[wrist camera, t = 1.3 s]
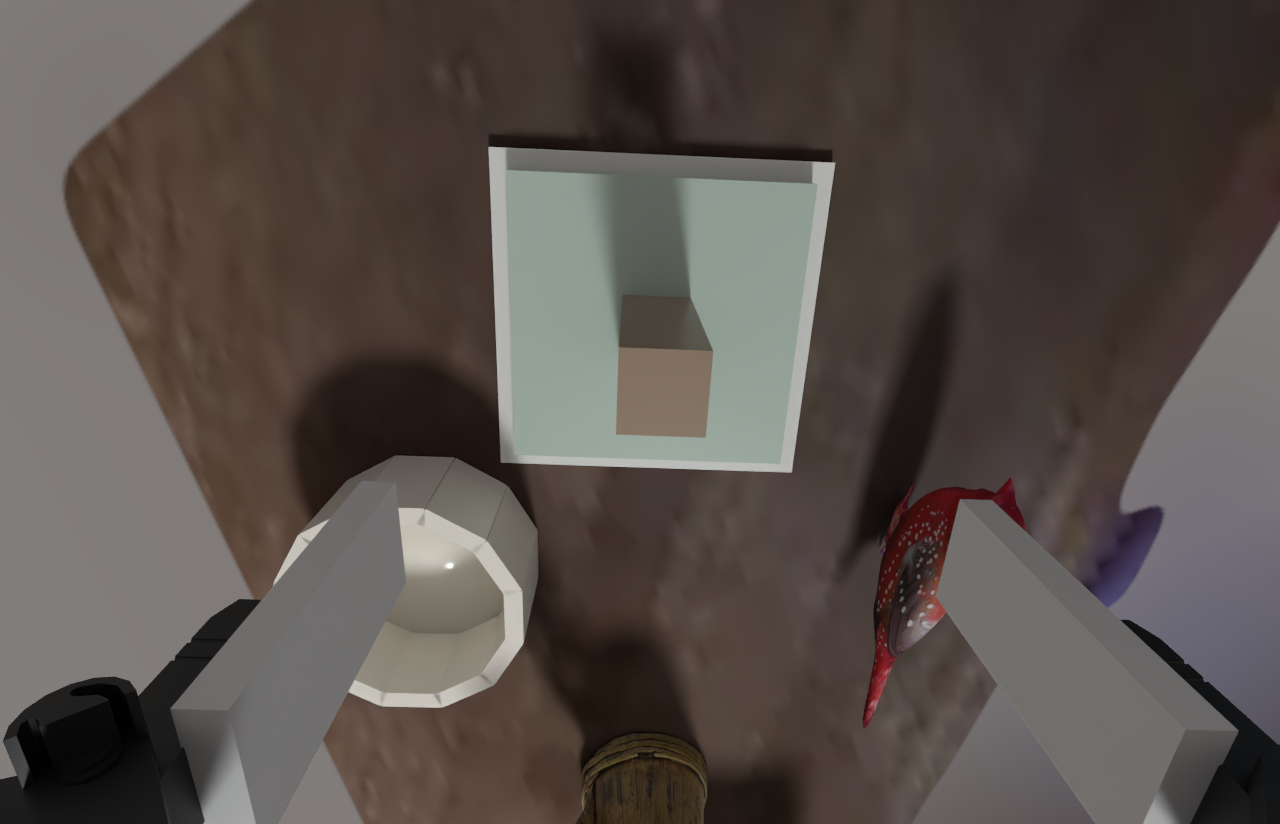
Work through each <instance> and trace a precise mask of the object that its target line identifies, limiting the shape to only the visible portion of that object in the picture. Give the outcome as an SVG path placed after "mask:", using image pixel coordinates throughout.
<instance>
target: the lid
mask: <svg viewBox="0 0 1280 824" xmlns="http://www.w3.org/2000/svg"><path fill="white" fill-rule="evenodd" d="M506 181H507V214H508V247H509V281H510V314H511V348H512V381H513V414H514V448H515V455H532V456H561V457H591V458H620V459H650V460H679V461H709V462H738V463H768V464H780V462H781V455H782V447H783V440H784V432H785V425H786V417H787V410H788V402H789V395H790V387H791V380H792V372H793V365H794V357H795V350H796V342H797V335H798V327H799V320H800V312H801V305H802V297H803V290H804V282H805V275H806V267H807V260H808V252H809V245H810V237H811V230H812V223H813V215H814V208H815V200H816V193H817V185H818V184H814V183H795V182H772V181H750V180H728V179H706V178H684V177H661V176H639V175H617V174H595V173H573V172H550V171H528V170H506Z"/></svg>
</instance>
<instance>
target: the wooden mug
mask: <svg viewBox="0 0 1280 824" xmlns="http://www.w3.org/2000/svg"><path fill="white" fill-rule="evenodd" d="M707 785H708V775H707V766H706V764H705V762H704V760H703V758H702V756H701V754H700V753H699V752H698V751H697V750H696V749H695V748H694V747H693V746H692V745H691V744H689V743H687V742H685V741H683V740H681V739H680V738H676V737H673V736H669V735H666V734H655V733H632V734H629V735H625V736H622V737H619V738H615V739H614V740H612V741H610V742H609V743H607V744H606V745H604V746H603V747H601V748H600V749H599V750H598V751H597V752H596V754H595V755H594V756H593V757H592V758H591V759H590V761H589V762H588V763H587V764H586V765H585V767H584V769H583V771H582V806H583V812H582V814H581V816H580V817H579V819H578V821H577V822H576V824H703V820H704V807H705V803H706V799H707Z"/></svg>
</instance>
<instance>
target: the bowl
mask: <svg viewBox="0 0 1280 824" xmlns="http://www.w3.org/2000/svg"><path fill="white" fill-rule="evenodd" d="M361 481H383V482H396V490H397V500H398V510H399V519H400V529H401V538H402V548H403V558H404V567H405V577H406V584H405V586H404V588H403V590H402V591H401V593H400V595H399V597H398V599H397V601H396V603H395V605H394V606H393V608H392V610H391V612H390V614H389V616H388V618H387V620H386V622H385V623H384V625H383V627H382V629H381V631H380V633H379V635H378V637H377V638H376V640H375V642H374V644H373V646H372V648H371V650H370V652H369V654H368V655H367V657H366V659H365V661H364V663H363V665H362V667H361V669H360V670H359V672H358V674H357V676H356V678H355V680H354V682H353V684H352V686H351V687H350V689H349V691H348V692H350V693H352V694H354V695H356V696H359V697H361V698H363V699H366V700H368V701H370V702H372V703H375V704H377V705H379V706H380V705H382V706H393V707H434V708H442V707H445V706H447V705H450V704H452V703H454V702H457V701H459V700H461V699H463V698H466V697H468V696H470V695H473V694H475V693H477V692H480V691H482V690H484V689H487V688H489V687H491V686H493V685H495V683H496V682H497V680H498V679H499V677H500V676H501V675H502V673H503V672H504V670H505V669H506V668H507V666H508V665H509V663H510V662H511V661H512V659H513V658H514V656H515V655H516V653H517V652H518V651H519V649H520V648H521V646H522V645H523V643H524V639H525V635H526V630H527V626H528V621H529V617H530V613H531V608H532V604H533V599H534V595H535V590H536V586H537V581H538V531H537V528H536V527H535V525H534V524H533V522H532V521H531V519H530V518H529V516H528V515H527V513H526V512H525V510H524V509H523V507H522V506H521V504H520V503H519V502H518V500H517V499H516V497H515V496H514V494H513V493H512V491H511V490H510V488H509V487H508V486H507V485H506V484H504V483H502V482H500V481H498V480H497V479H495V478H493V477H491V476H489V475H487V474H485V473H483V472H482V471H480V470H478V469H476V468H474V467H472V466H470V465H469V464H467V463H465V462H463V461H461V460H459V459H457V458H455V457H429V456H400V455H396V456H393V457H391V458H389V459H387V460H385V461H383V462H381V463H379V464H378V465H376V466H374V467H372V468H370V469H368V470H366V471H364V472H362V473H360V474H358V475H356V476H354V477H352V478H350V479H348V480H347V481H346V482H345V483H344V484H343V485H342V486H341V488H340V489H339V490H338V491H337V492H336V493H335V494H334V495H333V497H332V498H331V499H330V500H329V501H328V502H327V503H326V504H325V506H324V507H323V508H322V509H321V510H320V511H319V512H318V513H317V515H316V516H315V517H314V518H313V519H312V520H311V521H310V522H309V524H308V525H307V526H306V527H305V528H304V529H303V530H302V531H301V532H300V534H299V535H298V536H297V538H296V540H295V542H294V544H293V546H292V548H291V550H290V552H289V554H288V556H287V558H286V560H285V562H284V563H283V565H282V567H281V569H280V571H279V573H278V575H277V577H276V579H275V581H274V584H273V585H275V584H276V582H277V581H278V580H279V579H280V578H281V576H282V575H283V574H284V573H285V572H286V571H287V569H288V568H289V567H290V566H291V565H292V563H293V562H294V561H295V560H296V559H297V557H298V556H299V555H300V554H301V553H302V551H303V550H304V549H305V548H306V547H307V546H308V544H309V543H310V542H311V541H312V540H313V538H314V537H315V536H316V535H317V534H318V532H319V531H320V530H321V529H322V528H323V526H324V525H325V524H326V523H327V522H328V521H329V519H330V518H331V517H332V516H333V515H334V513H335V512H336V511H337V510H338V509H339V507H340V506H341V505H342V504H343V503H344V501H345V500H346V499H347V498H348V497H349V495H350V494H351V493H352V492H353V491H354V490H355V488H356V487H357V486H358V485H359V484H360V482H361Z"/></svg>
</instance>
